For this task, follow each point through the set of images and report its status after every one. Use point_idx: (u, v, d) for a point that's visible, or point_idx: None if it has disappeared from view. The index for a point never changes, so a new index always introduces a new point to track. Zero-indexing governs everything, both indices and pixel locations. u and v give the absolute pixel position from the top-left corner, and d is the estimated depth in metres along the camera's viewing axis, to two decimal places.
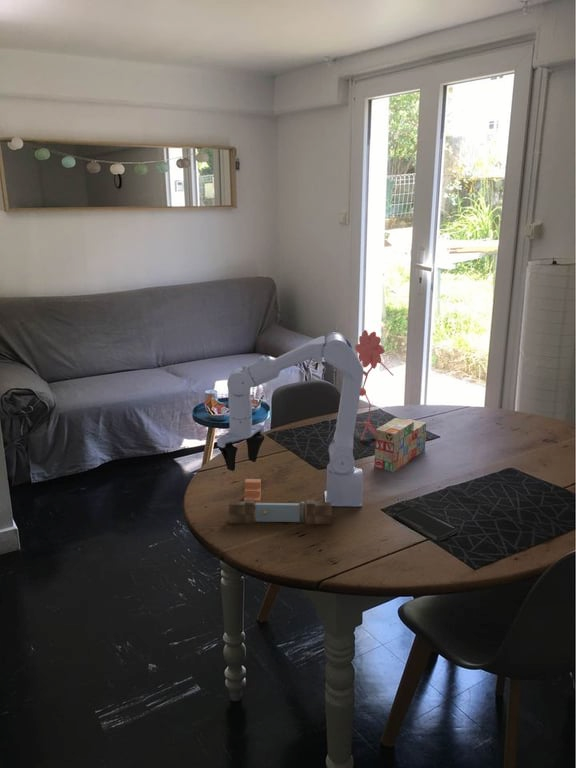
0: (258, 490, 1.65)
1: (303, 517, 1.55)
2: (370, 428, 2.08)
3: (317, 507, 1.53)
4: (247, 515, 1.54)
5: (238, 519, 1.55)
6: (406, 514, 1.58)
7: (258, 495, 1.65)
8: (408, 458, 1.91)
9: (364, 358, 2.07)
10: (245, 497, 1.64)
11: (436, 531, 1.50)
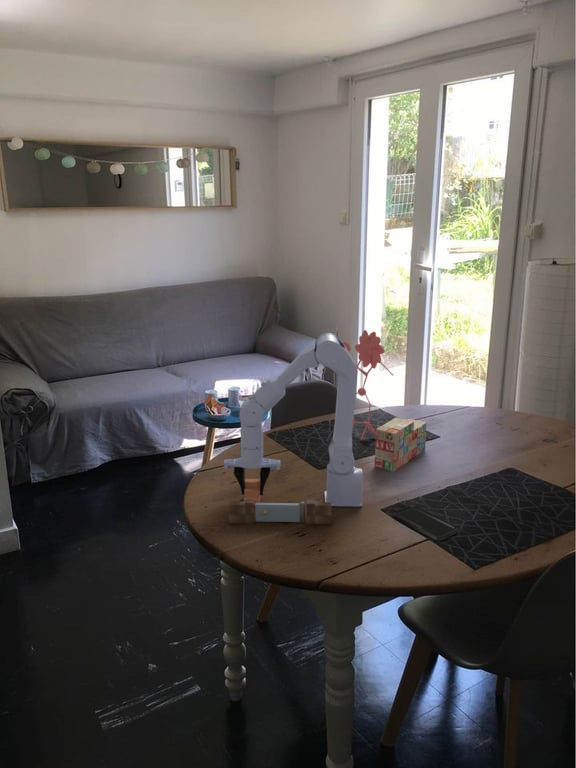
0: (258, 490, 1.65)
1: (303, 517, 1.55)
2: (370, 428, 2.08)
3: (317, 507, 1.53)
4: (247, 515, 1.54)
5: (238, 519, 1.55)
6: (406, 514, 1.58)
7: (258, 495, 1.65)
8: (408, 458, 1.91)
9: (364, 358, 2.07)
10: (245, 497, 1.64)
11: (436, 531, 1.50)
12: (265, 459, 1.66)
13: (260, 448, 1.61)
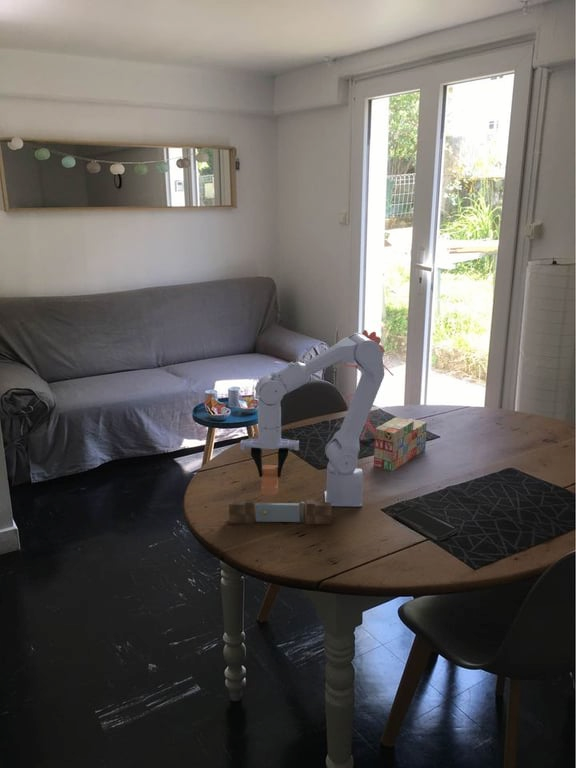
0: (275, 477, 1.59)
1: (303, 517, 1.55)
2: (370, 428, 2.08)
3: (317, 507, 1.53)
4: (247, 515, 1.54)
5: (238, 519, 1.55)
6: (406, 514, 1.58)
7: (276, 482, 1.59)
8: (408, 457, 1.92)
9: None
10: (262, 485, 1.58)
11: (436, 531, 1.50)
12: (283, 440, 1.60)
13: (278, 428, 1.55)
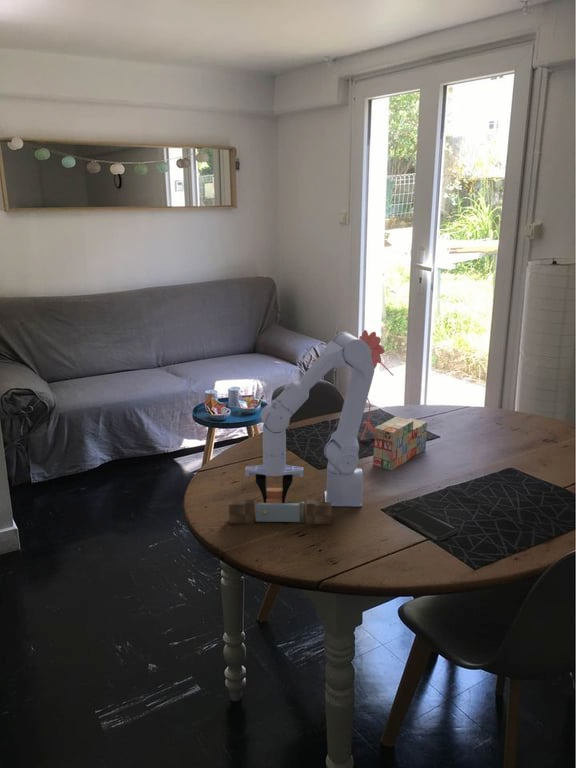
0: (280, 499, 1.60)
1: (303, 517, 1.55)
2: (370, 428, 2.08)
3: (317, 507, 1.53)
4: (247, 515, 1.54)
5: (238, 519, 1.55)
6: (406, 514, 1.58)
7: None
8: (407, 457, 1.92)
9: None
10: None
11: (436, 531, 1.50)
12: (287, 466, 1.60)
13: (283, 455, 1.56)
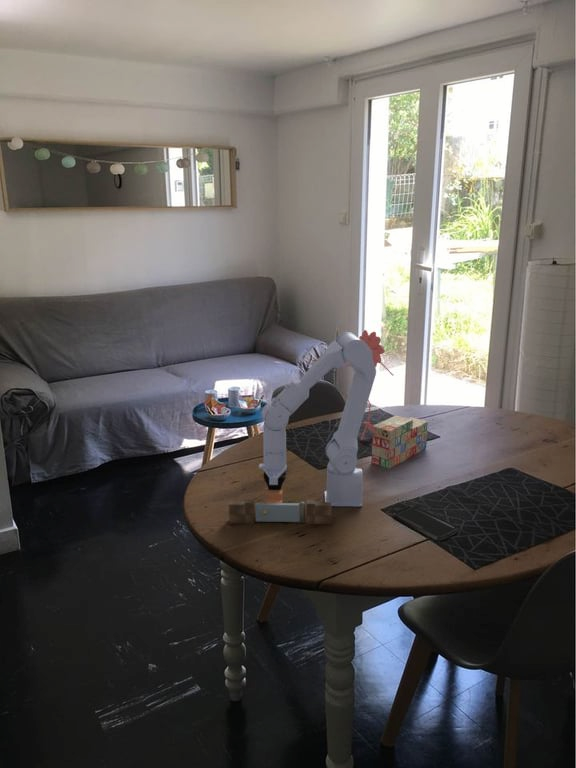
0: (280, 502, 1.58)
1: (303, 517, 1.55)
2: (370, 428, 2.08)
3: (317, 507, 1.53)
4: (247, 515, 1.54)
5: (238, 519, 1.55)
6: (406, 514, 1.58)
7: None
8: (406, 456, 1.93)
9: None
10: None
11: (437, 531, 1.50)
12: None
13: None
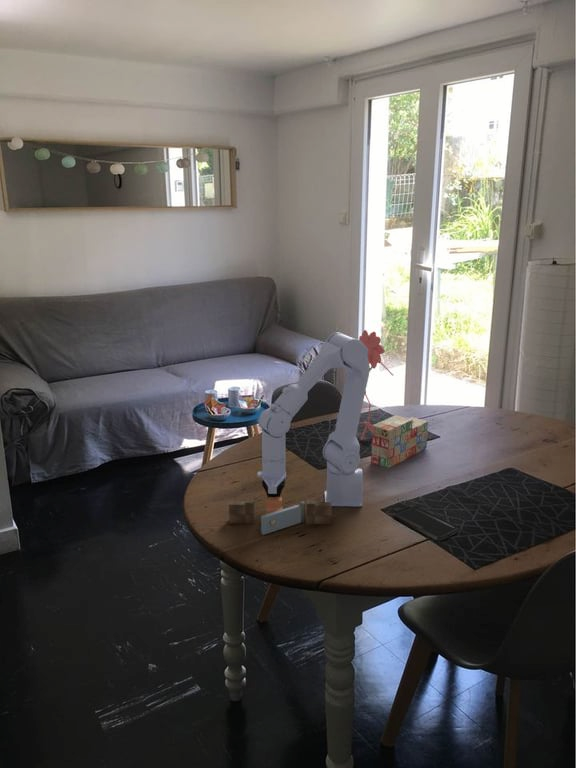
0: (281, 509, 1.55)
1: (304, 516, 1.55)
2: (370, 428, 2.08)
3: (317, 507, 1.53)
4: (247, 515, 1.54)
5: (238, 519, 1.55)
6: (406, 514, 1.58)
7: None
8: (406, 455, 1.93)
9: None
10: None
11: (437, 531, 1.50)
12: None
13: None
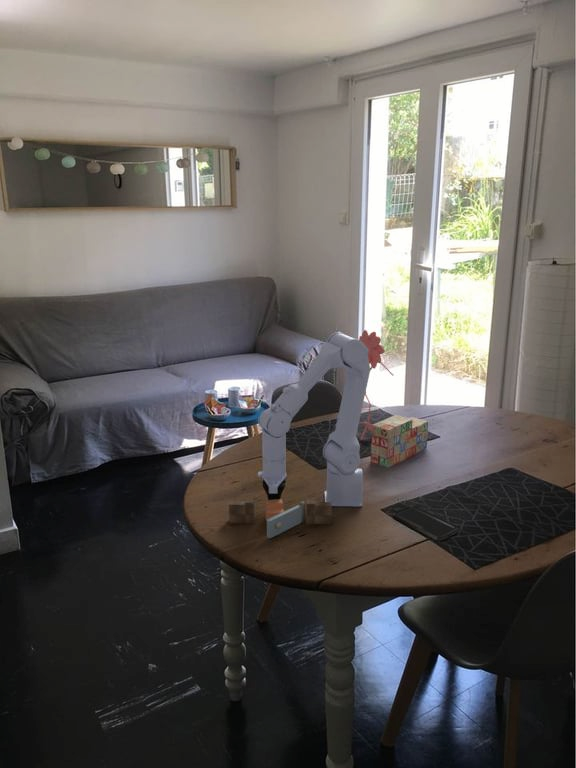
0: (282, 511, 1.54)
1: (304, 516, 1.55)
2: (370, 428, 2.08)
3: (317, 507, 1.53)
4: (247, 515, 1.54)
5: (238, 519, 1.55)
6: (406, 514, 1.58)
7: None
8: (406, 455, 1.93)
9: None
10: None
11: (437, 531, 1.50)
12: None
13: None
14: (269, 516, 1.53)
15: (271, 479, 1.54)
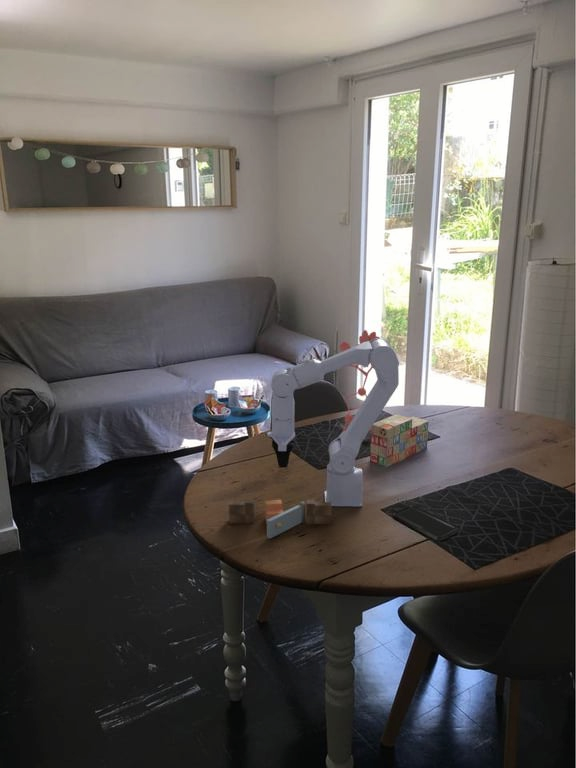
0: (281, 512, 1.54)
1: (304, 516, 1.55)
2: None
3: (317, 507, 1.53)
4: (247, 515, 1.54)
5: (238, 519, 1.55)
6: (406, 514, 1.58)
7: None
8: (406, 455, 1.94)
9: None
10: None
11: (437, 531, 1.50)
12: None
13: None
14: (268, 517, 1.53)
15: (280, 438, 1.59)
